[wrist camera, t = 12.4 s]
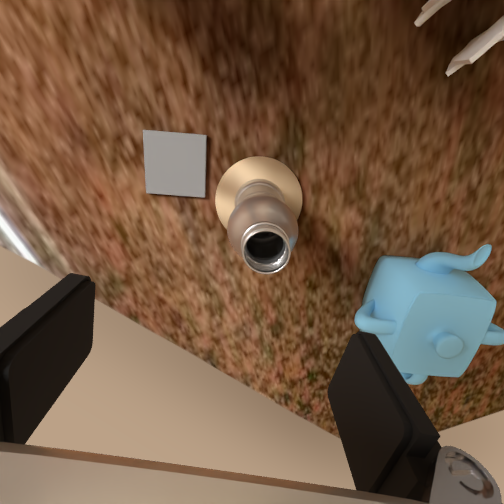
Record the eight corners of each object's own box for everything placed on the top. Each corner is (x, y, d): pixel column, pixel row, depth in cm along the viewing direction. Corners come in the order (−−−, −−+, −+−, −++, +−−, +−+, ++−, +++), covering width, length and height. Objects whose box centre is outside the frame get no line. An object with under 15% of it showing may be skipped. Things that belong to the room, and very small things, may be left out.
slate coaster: (144, 129, 38) (142, 129, 37) (206, 135, 38) (206, 135, 38) (147, 192, 41) (146, 193, 40) (205, 196, 41) (204, 197, 40)
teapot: (464, 307, 48) (540, 367, 35) (371, 350, 51) (410, 420, 38) (425, 214, 42) (499, 246, 30) (323, 269, 45) (351, 319, 33)
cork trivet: (226, 145, 39) (226, 145, 38) (312, 169, 40) (314, 170, 39) (208, 230, 43) (207, 232, 42) (287, 249, 44) (287, 251, 43)
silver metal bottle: (264, 232, 42) (275, 306, 23) (225, 204, 41) (204, 259, 22) (293, 196, 40) (329, 246, 22) (253, 165, 39) (257, 190, 20)
